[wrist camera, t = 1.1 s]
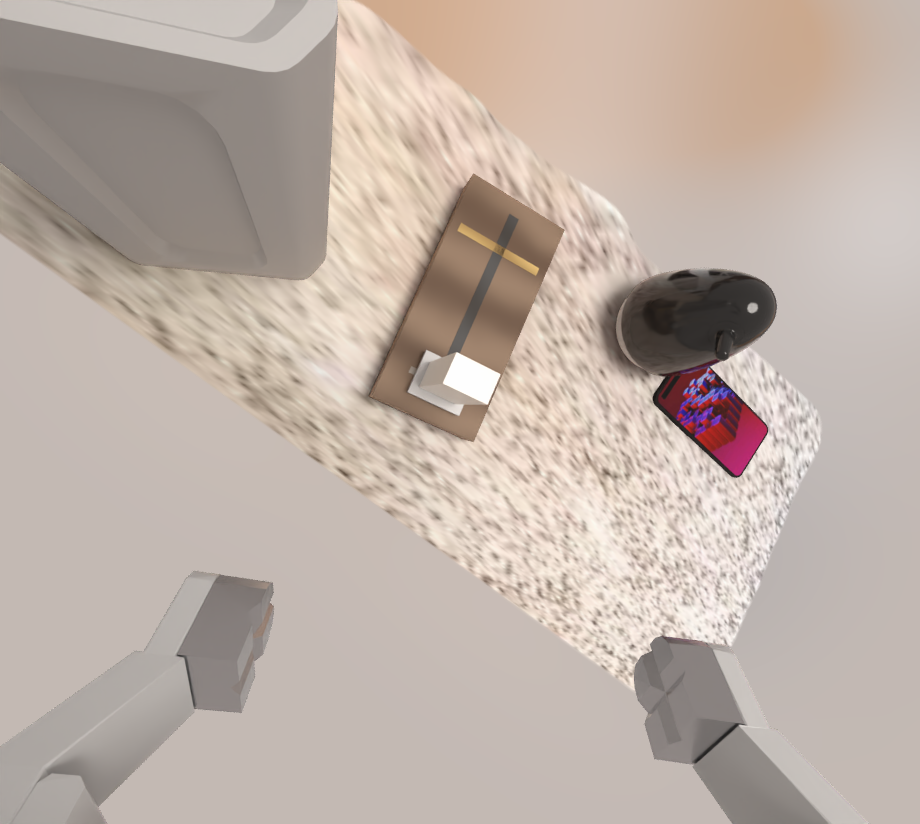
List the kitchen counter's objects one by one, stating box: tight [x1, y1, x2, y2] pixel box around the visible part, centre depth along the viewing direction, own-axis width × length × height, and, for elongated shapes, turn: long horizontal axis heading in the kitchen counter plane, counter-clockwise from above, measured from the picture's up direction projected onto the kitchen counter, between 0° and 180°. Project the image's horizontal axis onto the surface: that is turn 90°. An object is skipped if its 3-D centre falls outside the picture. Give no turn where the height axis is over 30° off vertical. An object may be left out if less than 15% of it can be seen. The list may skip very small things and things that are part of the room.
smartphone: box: [653, 367, 768, 478], centre depth 55 cm, size 8×1×15 cm
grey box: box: [0, 0, 338, 280], centre depth 28 cm, size 19×15×28 cm
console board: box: [369, 174, 564, 442], centre depth 45 cm, size 22×10×3 cm, turn 155°
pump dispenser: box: [616, 268, 777, 376], centre depth 45 cm, size 10×10×15 cm
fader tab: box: [407, 350, 501, 416], centre depth 39 cm, size 4×5×9 cm
